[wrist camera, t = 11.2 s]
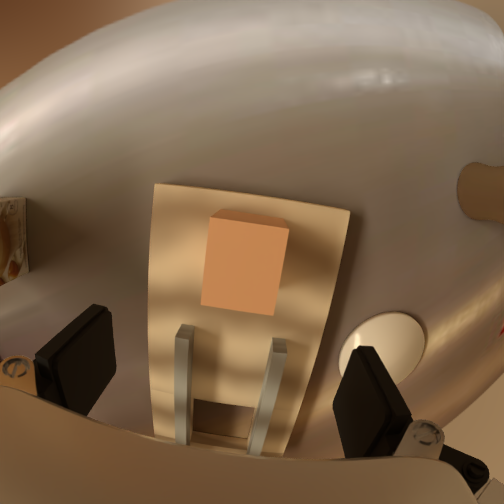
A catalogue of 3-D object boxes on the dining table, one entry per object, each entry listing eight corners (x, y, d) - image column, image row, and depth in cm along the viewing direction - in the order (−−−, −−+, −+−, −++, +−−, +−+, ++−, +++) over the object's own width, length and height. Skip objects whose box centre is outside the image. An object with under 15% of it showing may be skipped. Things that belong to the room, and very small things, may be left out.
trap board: (281, 446, 32) (282, 472, 28) (158, 427, 32) (149, 452, 28) (343, 208, 25) (360, 215, 21) (162, 183, 25) (143, 184, 21)
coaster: (402, 387, 30) (405, 391, 29) (327, 387, 30) (328, 392, 29) (433, 314, 27) (436, 317, 26) (353, 307, 27) (355, 310, 26)
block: (271, 289, 25) (273, 315, 20) (211, 280, 25) (200, 304, 20) (283, 218, 23) (289, 229, 19) (220, 209, 23) (209, 217, 18)
